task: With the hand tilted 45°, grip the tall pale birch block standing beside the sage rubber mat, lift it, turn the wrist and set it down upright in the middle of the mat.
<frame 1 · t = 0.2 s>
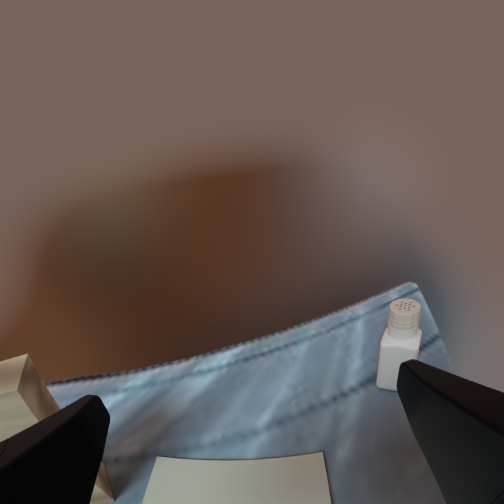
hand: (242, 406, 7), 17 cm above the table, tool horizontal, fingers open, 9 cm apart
birch block: (88, 486, 15), on the table
pepper shaker: (395, 381, 25), on the table
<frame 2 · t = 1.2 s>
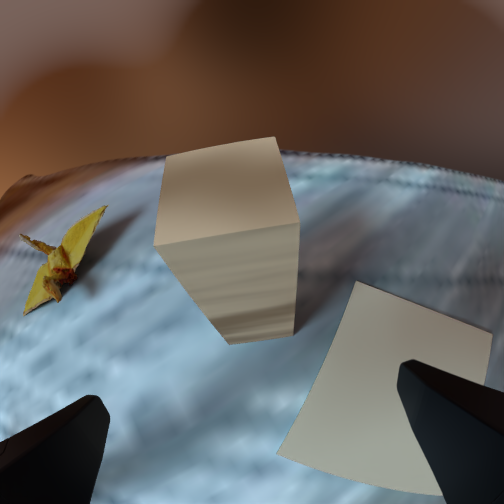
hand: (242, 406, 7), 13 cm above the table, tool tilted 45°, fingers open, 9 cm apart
sage mat: (406, 396, 17), on the table
birch block: (257, 311, 22), on the table
origami crane: (68, 274, 27), on the table
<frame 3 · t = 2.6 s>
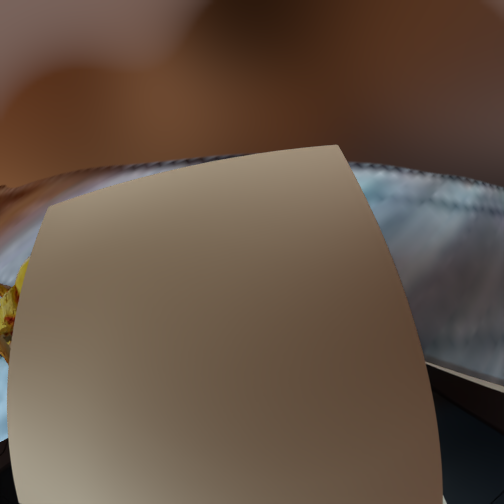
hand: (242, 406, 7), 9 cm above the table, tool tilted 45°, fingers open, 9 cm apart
sage mat: (446, 486, 9), on the table
birch block: (264, 399, 14), on the table
origami crane: (27, 319, 19), on the table
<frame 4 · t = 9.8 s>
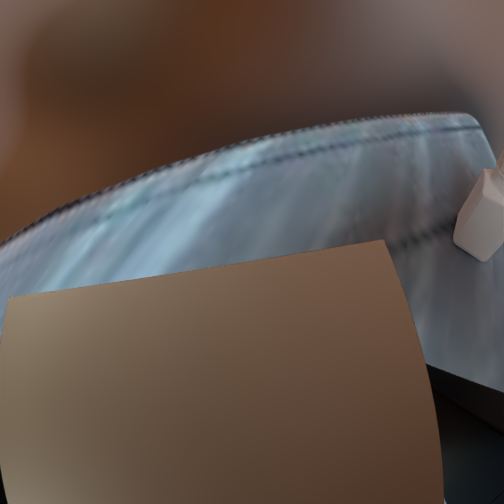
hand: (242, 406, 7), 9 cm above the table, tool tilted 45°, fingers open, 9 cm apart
birch block: (266, 431, 13), point 1 cm above the table, touching sage mat
pepper shaker: (469, 240, 18), on the table
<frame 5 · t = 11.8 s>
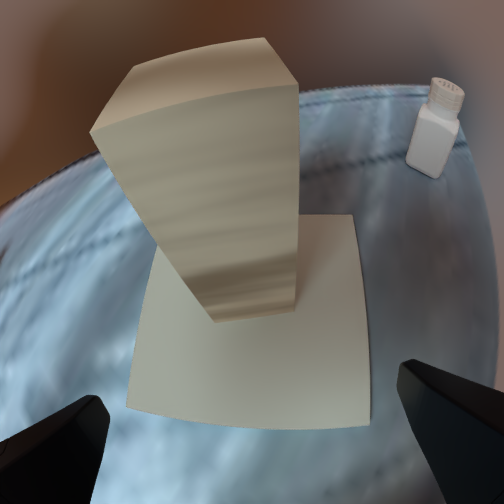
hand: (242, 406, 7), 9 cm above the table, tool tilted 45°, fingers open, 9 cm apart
sage mat: (249, 311, 18), on the table
birch block: (249, 282, 18), resting on sage mat
pepper shaker: (423, 165, 24), on the table
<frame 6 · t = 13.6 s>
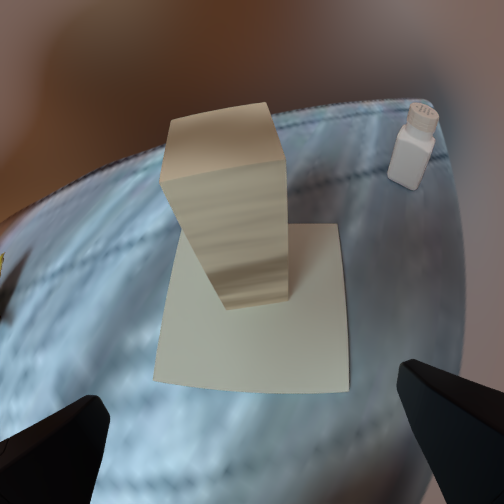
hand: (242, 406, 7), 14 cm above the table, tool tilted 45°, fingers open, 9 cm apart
sage mat: (253, 301, 23), on the table
birch block: (253, 278, 23), resting on sage mat
pepper shaker: (403, 178, 29), on the table
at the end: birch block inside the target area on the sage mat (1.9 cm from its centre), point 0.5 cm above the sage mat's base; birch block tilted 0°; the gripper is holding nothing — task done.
